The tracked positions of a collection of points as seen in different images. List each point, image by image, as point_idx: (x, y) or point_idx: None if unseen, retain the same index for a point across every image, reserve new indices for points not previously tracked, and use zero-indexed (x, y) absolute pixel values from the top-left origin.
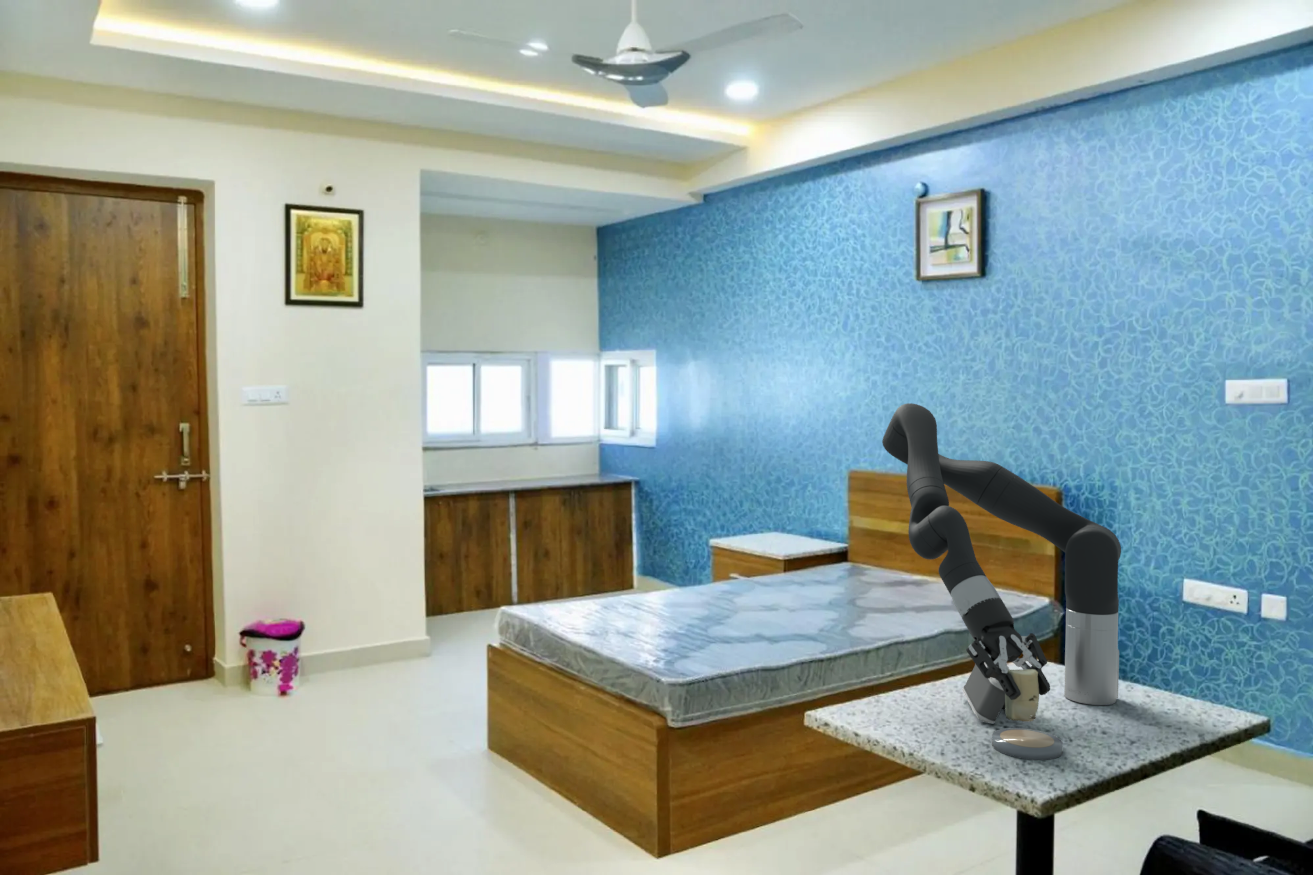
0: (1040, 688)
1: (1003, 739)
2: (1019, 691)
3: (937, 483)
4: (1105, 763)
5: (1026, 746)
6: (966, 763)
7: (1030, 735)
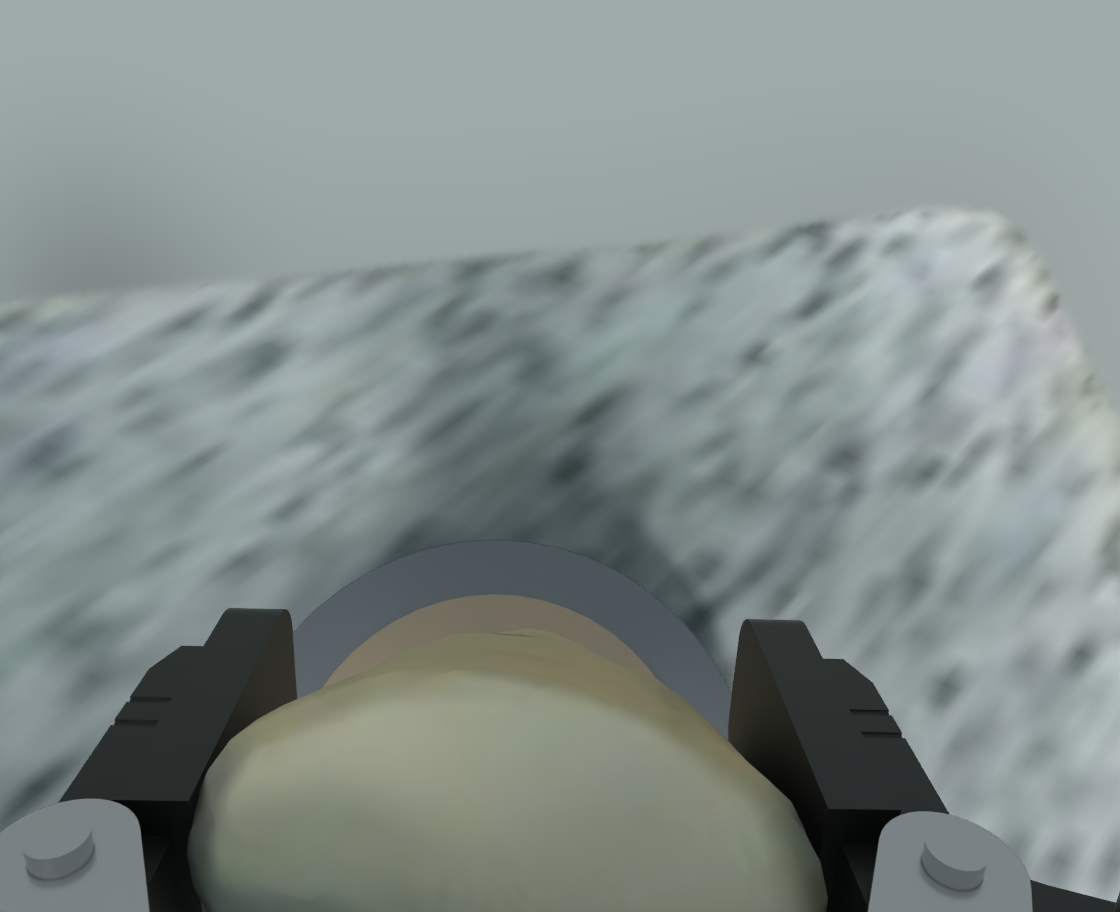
0: None
1: None
2: (764, 623)
3: None
4: (271, 373)
5: (636, 658)
6: (1105, 749)
7: None
